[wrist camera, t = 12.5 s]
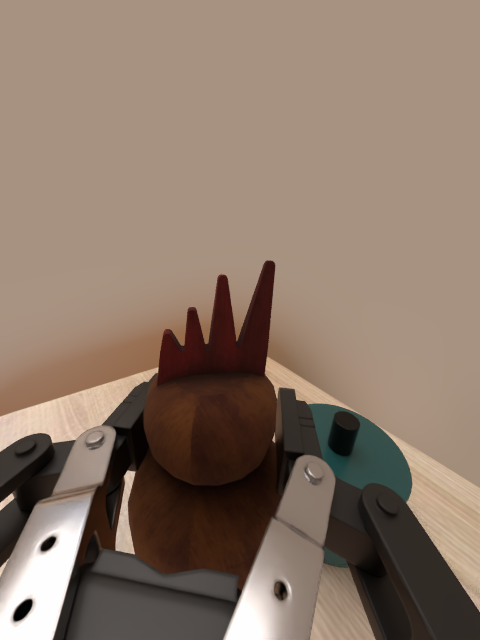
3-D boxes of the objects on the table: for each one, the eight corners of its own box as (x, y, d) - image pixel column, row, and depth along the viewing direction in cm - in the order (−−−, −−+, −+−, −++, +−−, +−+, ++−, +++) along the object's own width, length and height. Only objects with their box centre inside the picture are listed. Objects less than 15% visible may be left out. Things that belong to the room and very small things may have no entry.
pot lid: (337, 400, 32) (344, 372, 30) (438, 487, 21) (458, 452, 19) (257, 426, 27) (260, 394, 25) (338, 555, 16) (352, 516, 15)
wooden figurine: (276, 504, 14) (313, 257, 9) (275, 662, 9) (363, 287, 4) (174, 483, 15) (155, 249, 10) (118, 617, 10) (13, 262, 5)
